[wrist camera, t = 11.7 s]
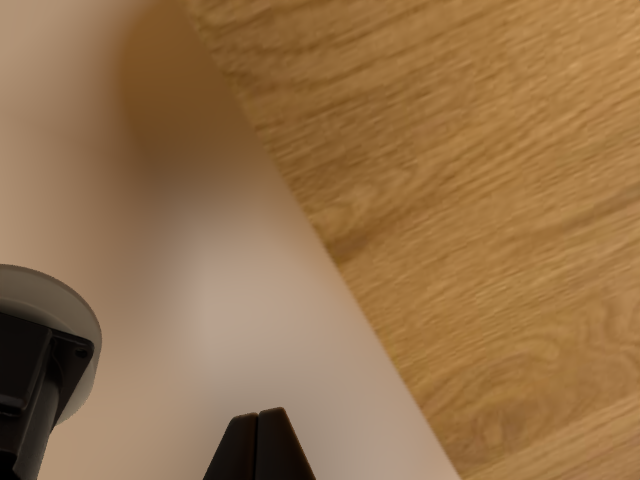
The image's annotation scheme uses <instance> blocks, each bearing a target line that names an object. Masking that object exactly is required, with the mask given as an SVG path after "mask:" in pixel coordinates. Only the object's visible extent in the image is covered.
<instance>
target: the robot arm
mask: <svg viewBox="0 0 640 480" xmlns="http://www.w3.org/2000/svg"><path fill="white" fill-rule="evenodd" d="M94 348H95V347H94V343H93V342H92V341H91V340H89V339H86V338H83V337H80V336H77V335H73V334H70V333H67V332H63V331H60V330H57V329H54V328H50V327H47V326H44V325H41V324H37V323H34V322H31V321H27V320H24V319H21V318H18V317H14V316H11V315H8V314H4V313H1V312H0V480H37V476H38V473H39V470H40V466H41V463H42V459H43V456H44V452H45V449H46V445H47V442H48V438H49V435H50V433H51V432H52V430H53V428H54V426H55V424H56V422H57V421H58V419H59V417H60V415H61V413H62V411H63V410H64V408H65V406H66V404H67V402H68V400H69V399H70V397H71V395H72V393H73V391H74V389H75V388H76V386H77V384H78V382H79V380H80V378H81V377H82V375H83V373H84V371H85V369H86V367H87V366H88V364H89V362H90V360H91V358H92V356H93V352H94ZM77 349H84V350H86V351H78V350H77ZM203 480H316V478H315V476H314V474H313V472H312V470H311V467H310V465H309V463H308V460H307V458H306V456H305V454H304V452H303V449H302V447H301V445H300V443H299V440H298V438H297V436H296V434H295V432H294V429H293V427H292V425H291V423H290V420H289V418H288V416H287V414H286V411H285V410H284V408H282V407H277V408H273V409H268V410H263V411H261V412H260V413H259V415H258V414H257V413H249V414H245V415H239V416H236V417H234V418H233V419H232V420H231V421H230V423H229V425H228V427H227V429H226V431H225V434H224V436H223V438H222V440H221V442H220V444H219V446H218V448H217V450H216V452H215V455H214V457H213V459H212V461H211V463H210V465H209V467H208V469H207V472H206V474H205V476H204V478H203Z"/></svg>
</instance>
